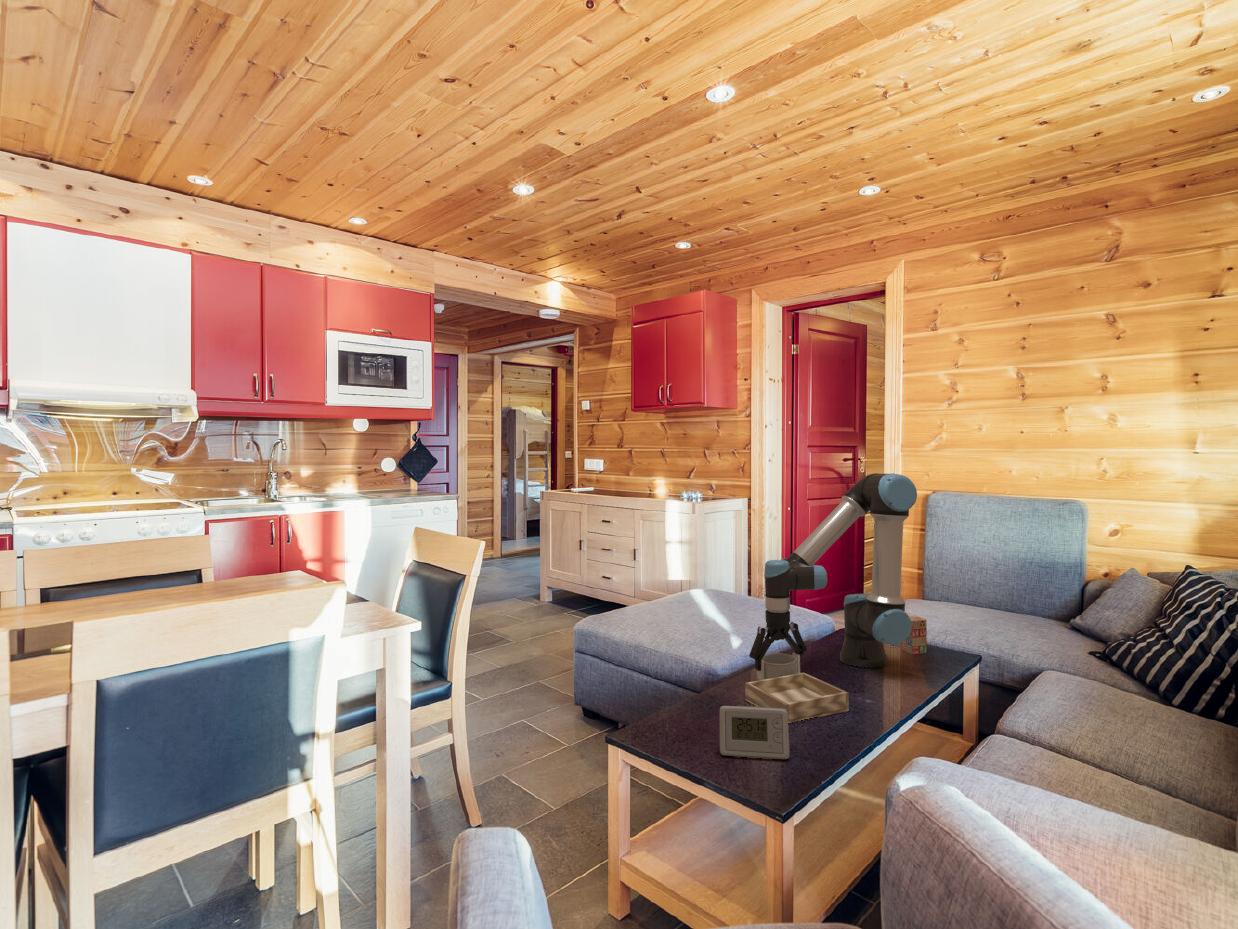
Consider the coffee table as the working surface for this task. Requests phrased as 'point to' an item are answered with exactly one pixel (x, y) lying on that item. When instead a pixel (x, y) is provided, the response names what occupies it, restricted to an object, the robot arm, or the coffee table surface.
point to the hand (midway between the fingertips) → (778, 677)
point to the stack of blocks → (915, 637)
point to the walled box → (798, 696)
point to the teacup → (779, 665)
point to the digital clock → (754, 732)
